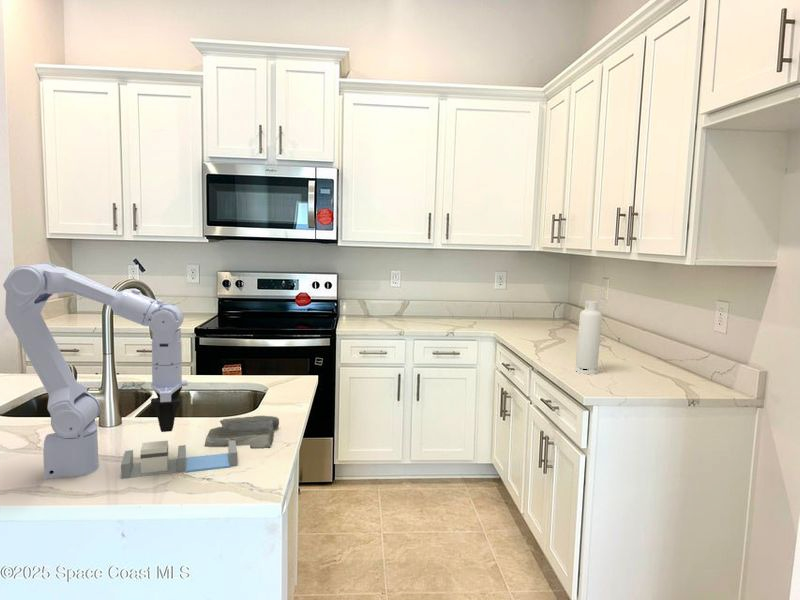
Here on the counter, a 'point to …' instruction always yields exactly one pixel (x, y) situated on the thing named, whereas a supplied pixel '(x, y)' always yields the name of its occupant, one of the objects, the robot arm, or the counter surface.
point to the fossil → (244, 432)
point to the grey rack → (182, 462)
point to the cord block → (154, 456)
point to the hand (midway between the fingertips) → (167, 424)
